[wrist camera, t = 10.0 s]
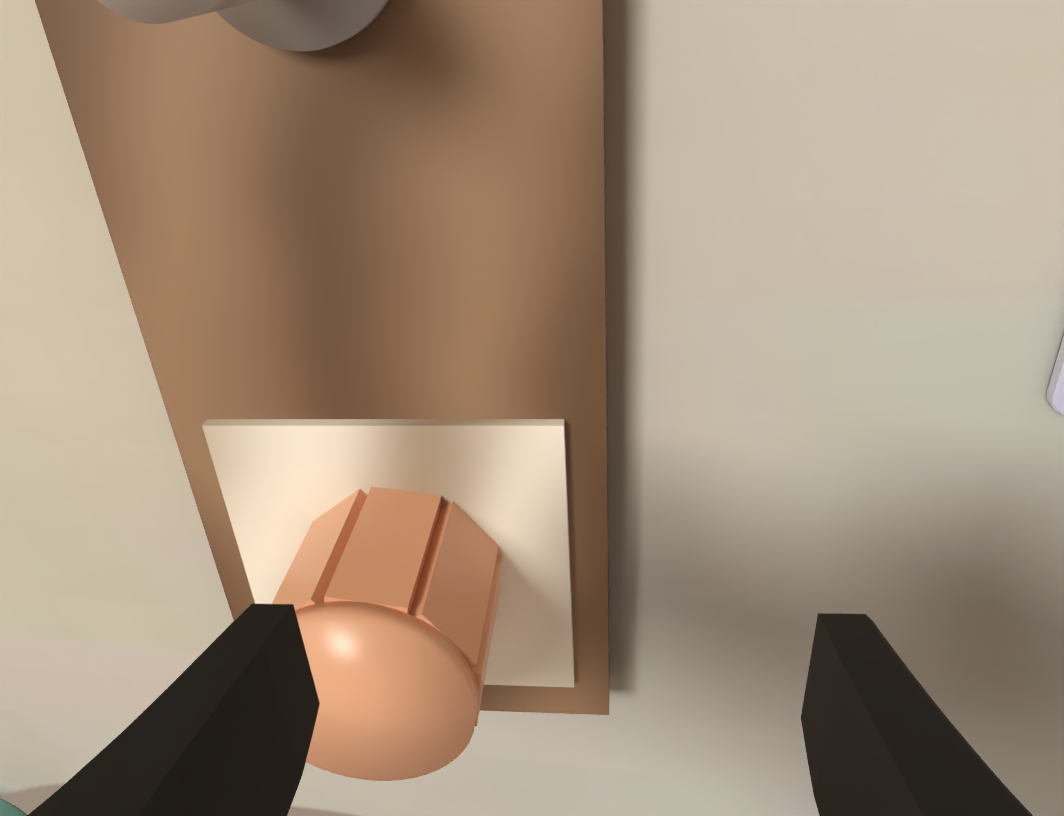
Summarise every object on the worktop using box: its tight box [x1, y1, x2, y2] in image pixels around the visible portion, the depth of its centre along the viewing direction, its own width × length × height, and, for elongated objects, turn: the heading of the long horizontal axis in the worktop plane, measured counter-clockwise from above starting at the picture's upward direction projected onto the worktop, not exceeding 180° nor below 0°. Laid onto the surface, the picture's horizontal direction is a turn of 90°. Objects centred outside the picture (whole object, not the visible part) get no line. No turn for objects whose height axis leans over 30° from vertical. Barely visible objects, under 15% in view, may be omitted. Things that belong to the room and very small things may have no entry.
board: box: [35, 0, 609, 715], centre depth 17 cm, size 11×28×8 cm, turn 3°
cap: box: [272, 486, 502, 781], centre depth 21 cm, size 5×5×5 cm
